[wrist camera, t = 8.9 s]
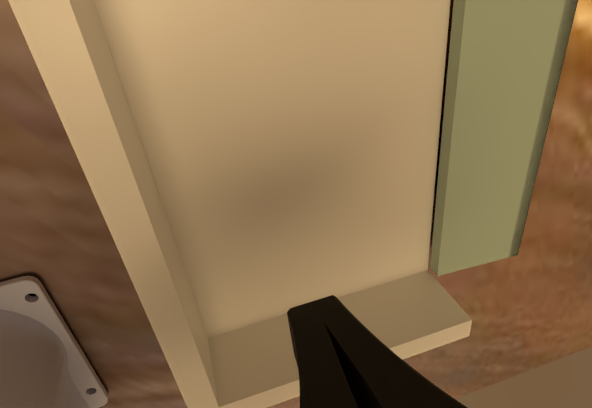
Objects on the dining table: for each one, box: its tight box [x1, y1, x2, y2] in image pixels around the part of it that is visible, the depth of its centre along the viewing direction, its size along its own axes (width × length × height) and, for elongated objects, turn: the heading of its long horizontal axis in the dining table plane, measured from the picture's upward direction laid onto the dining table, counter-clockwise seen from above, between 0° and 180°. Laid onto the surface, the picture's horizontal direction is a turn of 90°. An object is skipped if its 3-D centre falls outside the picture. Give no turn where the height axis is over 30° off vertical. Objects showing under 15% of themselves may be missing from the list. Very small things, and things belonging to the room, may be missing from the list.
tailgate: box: [430, 0, 578, 276], centre depth 18 cm, size 19×1×5 cm
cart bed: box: [8, 0, 472, 408], centre depth 16 cm, size 22×14×6 cm, turn 6°
